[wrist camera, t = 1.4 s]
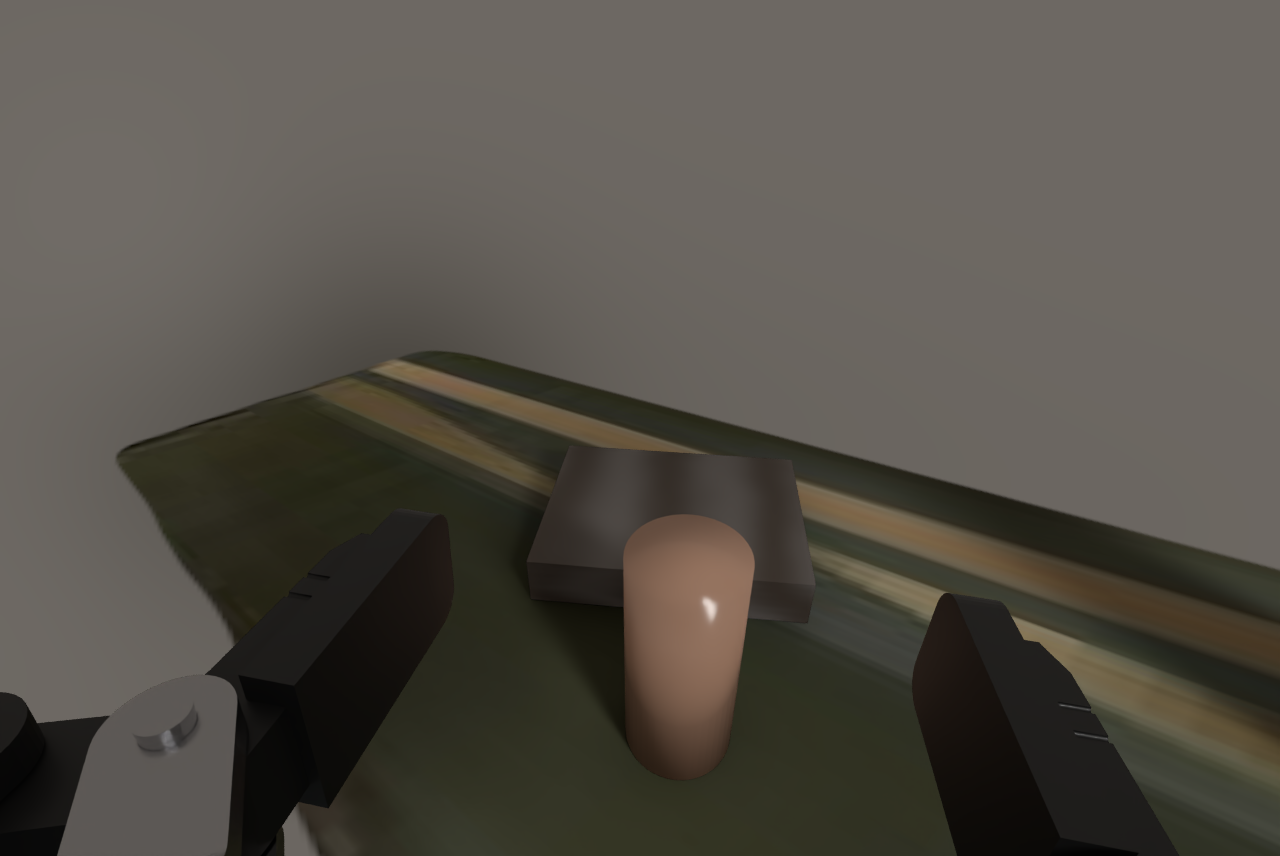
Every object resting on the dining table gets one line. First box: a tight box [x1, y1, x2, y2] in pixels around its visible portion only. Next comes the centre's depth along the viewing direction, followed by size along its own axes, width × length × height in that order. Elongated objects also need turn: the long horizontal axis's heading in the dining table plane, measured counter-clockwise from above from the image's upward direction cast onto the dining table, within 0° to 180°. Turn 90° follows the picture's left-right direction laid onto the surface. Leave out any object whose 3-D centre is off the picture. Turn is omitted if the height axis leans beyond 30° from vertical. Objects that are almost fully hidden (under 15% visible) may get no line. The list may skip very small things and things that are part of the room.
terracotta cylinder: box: [623, 514, 755, 780], centre depth 26 cm, size 5×5×11 cm
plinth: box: [526, 446, 816, 623], centre depth 39 cm, size 16×12×3 cm
